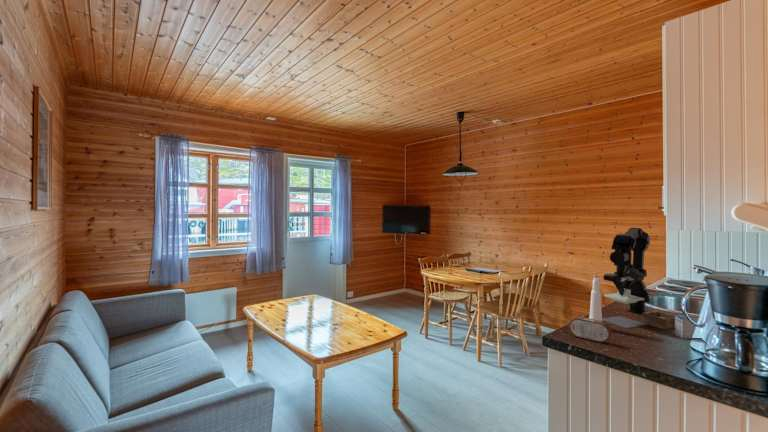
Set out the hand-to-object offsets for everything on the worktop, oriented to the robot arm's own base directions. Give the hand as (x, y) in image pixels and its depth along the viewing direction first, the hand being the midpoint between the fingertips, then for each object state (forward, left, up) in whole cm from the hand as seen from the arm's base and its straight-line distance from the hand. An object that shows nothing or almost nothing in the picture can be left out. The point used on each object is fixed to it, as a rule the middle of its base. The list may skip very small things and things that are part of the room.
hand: (623, 295), depth 161 cm
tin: (+33, +11, -13) cm, 37 cm away
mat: (0, 0, -13) cm, 13 cm away
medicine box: (-8, +22, -13) cm, 27 cm away
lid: (0, 0, -3) cm, 3 cm away
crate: (-13, +8, -13) cm, 20 cm away
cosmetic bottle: (+18, +1, -13) cm, 22 cm away
